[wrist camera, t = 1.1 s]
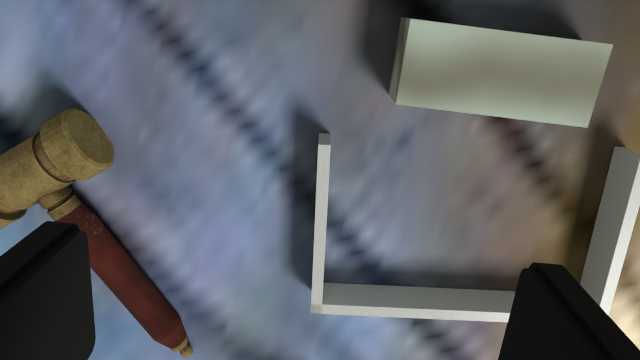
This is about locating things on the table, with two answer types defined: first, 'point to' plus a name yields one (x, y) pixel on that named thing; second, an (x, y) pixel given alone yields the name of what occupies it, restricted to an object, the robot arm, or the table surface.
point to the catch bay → (470, 304)
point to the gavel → (83, 212)
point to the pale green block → (497, 72)
